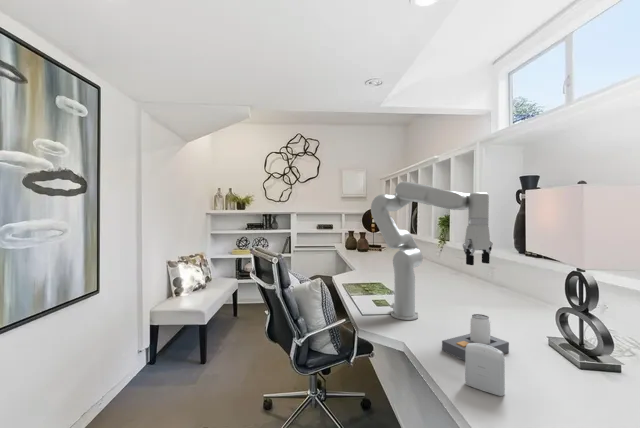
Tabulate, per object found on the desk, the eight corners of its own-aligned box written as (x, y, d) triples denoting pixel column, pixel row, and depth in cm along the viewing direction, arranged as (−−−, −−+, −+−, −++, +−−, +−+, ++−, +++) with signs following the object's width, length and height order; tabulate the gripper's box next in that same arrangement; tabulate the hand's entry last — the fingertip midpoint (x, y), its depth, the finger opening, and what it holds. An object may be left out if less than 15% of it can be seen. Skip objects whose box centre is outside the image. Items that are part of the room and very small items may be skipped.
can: (479, 354, 118) (479, 319, 117) (466, 346, 124) (466, 314, 124) (494, 352, 119) (494, 318, 119) (480, 345, 126) (481, 313, 125)
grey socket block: (442, 350, 121) (442, 339, 121) (478, 340, 130) (478, 330, 130) (471, 363, 110) (471, 351, 110) (508, 352, 119) (508, 341, 119)
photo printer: (462, 385, 97) (463, 342, 96) (468, 379, 100) (468, 338, 100) (502, 398, 90) (502, 352, 89) (506, 392, 93) (507, 348, 93)
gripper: (483, 221, 145) (483, 261, 146) (456, 222, 137) (455, 264, 138) (500, 222, 139) (499, 263, 139) (472, 223, 131) (471, 266, 131)
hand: (477, 264), depth 138 cm, fingers open, 9 cm apart
